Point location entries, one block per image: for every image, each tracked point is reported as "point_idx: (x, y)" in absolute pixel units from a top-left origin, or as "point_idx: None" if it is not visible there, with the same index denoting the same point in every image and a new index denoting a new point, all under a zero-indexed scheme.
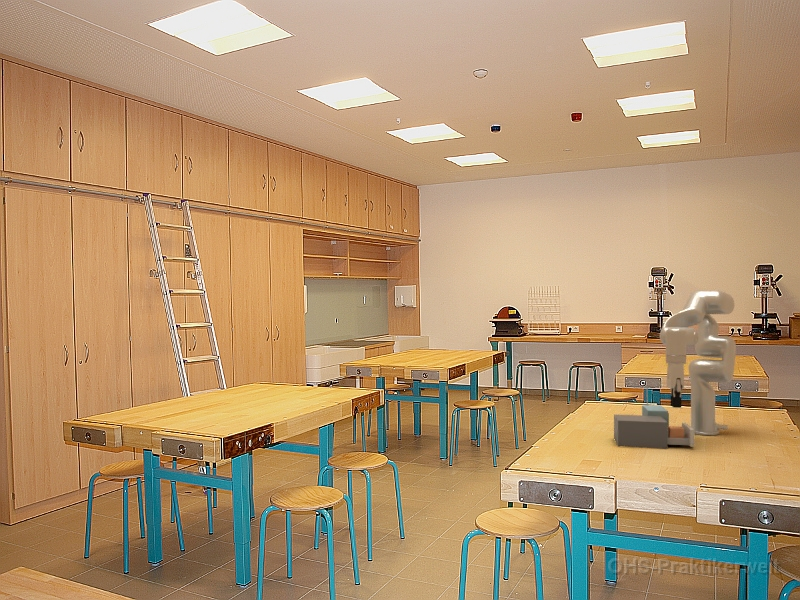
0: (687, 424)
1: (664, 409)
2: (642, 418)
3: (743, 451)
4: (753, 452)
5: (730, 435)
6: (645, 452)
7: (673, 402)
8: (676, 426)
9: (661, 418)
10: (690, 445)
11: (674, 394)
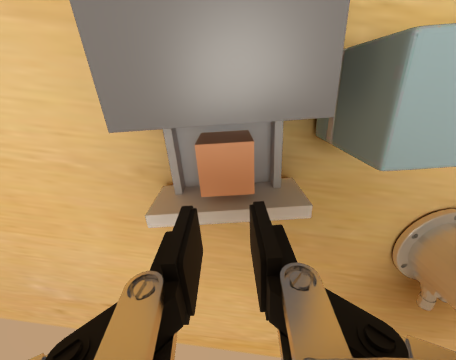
0: (270, 219)
1: (442, 157)
2: None
3: None
4: None
5: (394, 291)
6: (40, 18)
7: (175, 232)
8: (253, 175)
9: (241, 113)
10: (162, 187)
11: (118, 310)
